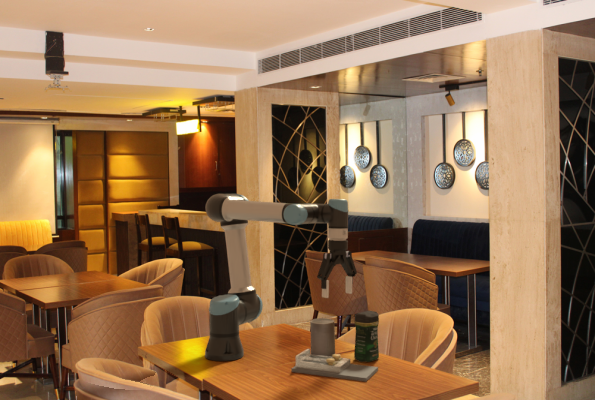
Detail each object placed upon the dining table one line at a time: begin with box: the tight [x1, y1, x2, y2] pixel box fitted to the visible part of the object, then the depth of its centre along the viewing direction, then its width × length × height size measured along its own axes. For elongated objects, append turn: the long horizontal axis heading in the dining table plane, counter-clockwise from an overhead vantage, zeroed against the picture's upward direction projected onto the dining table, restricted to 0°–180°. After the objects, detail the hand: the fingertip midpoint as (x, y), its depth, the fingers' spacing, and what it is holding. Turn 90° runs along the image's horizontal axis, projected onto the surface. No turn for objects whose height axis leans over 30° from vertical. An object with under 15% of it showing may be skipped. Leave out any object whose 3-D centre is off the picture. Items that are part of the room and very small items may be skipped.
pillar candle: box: [309, 317, 336, 357], centre depth 228 cm, size 10×10×15 cm
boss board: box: [291, 353, 379, 383], centre depth 207 cm, size 28×14×5 cm, turn 66°
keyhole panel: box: [295, 348, 351, 373], centre depth 209 cm, size 17×11×4 cm, turn 66°
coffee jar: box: [353, 310, 380, 363], centre depth 222 cm, size 10×8×19 cm
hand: (337, 295), depth 218 cm, fingers open, 13 cm apart
